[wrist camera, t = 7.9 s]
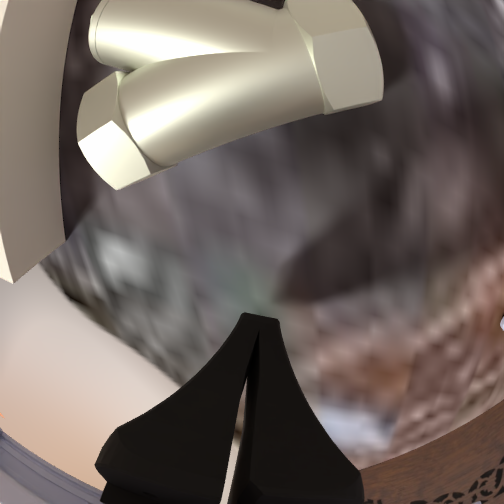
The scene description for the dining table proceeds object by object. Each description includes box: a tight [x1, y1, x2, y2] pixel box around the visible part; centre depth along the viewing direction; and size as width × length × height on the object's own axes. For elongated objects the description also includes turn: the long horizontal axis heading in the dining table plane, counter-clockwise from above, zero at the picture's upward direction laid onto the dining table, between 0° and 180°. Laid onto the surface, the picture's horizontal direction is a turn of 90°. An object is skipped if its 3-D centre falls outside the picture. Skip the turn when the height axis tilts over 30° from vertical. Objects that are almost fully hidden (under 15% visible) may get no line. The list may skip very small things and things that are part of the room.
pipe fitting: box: [77, 0, 384, 190], centre depth 7 cm, size 8×4×7 cm
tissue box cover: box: [359, 400, 504, 504], centre depth 15 cm, size 26×14×10 cm, turn 133°
